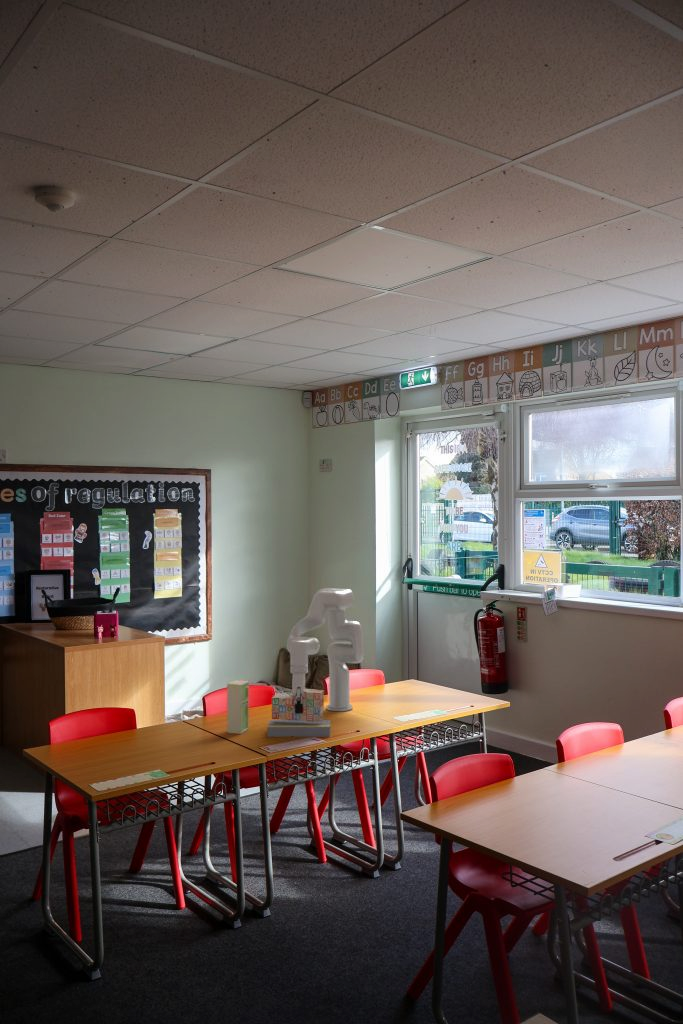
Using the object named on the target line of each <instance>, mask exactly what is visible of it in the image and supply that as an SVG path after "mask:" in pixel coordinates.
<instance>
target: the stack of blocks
mask: <svg viewBox="0 0 683 1024" xmlns="http://www.w3.org/2000/svg"><path fill="white" fill-rule="evenodd" d="M324 693H325V691H324V689H316V688H315V689H313V688H305V691H304V696H303V697H302V704H303V713H295V704H296V695H295V696H294V697H292V695H287V694H275V695H273V696H272V697H271V720H298V721H314V722H321V721H322V720H324V708H325V707H324V704H325V703H324V702H325V698H324V696H325V695H324ZM300 696H301V695H300Z"/></svg>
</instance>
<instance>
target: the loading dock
mask: <svg viewBox="0 0 683 1024" xmlns="http://www.w3.org/2000/svg"><path fill="white" fill-rule="evenodd" d="M266 728H267V729H266V730H267V737H268V738H269V737H272V738H273V737H275V738H276V737H277V738H279V737H280V738H282V737H284V738H285V737H286V738H287V737H288V738H290V737H291V736H293V738H294V737H295V738H297V737H301V738H303V737H306V738H307V737H308V738H310V737H311V738H312V737H315V738H317V737H318V738H319V737H325V738H326V737H327V738H329V737H331V720H330V719H322V721H321V722H314V721H298V720H280V719H271V720H269V721H268V725H267V727H266ZM291 738H292V737H291Z"/></svg>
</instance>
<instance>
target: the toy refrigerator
mask: <svg viewBox="0 0 683 1024" xmlns="http://www.w3.org/2000/svg"><path fill="white" fill-rule="evenodd" d="M226 689H227V690H226V691H227V693H226V696H227V697H226V698H227V699H226V701H227V703H226V705H227V707H226V708H227V711H226V713H227V715H226V720H227V723H226V724H227V725H226V730H227V731H226V732H227V733H228V734H237V735H238V734H239V735H241V734H243V733H246V732H247V731H249V726H250V722H249V721H250V719H249V717H250V716H249V715H250V710H249V709H250V702H249V701H250V699H249V698H250V697H249V696H250V694H249V693H250V690H249V689H250V681H249V680H237V679H236V680H233V681H230V682H228V683H227V684H226Z"/></svg>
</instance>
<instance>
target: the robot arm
mask: <svg viewBox="0 0 683 1024" xmlns="http://www.w3.org/2000/svg"><path fill="white" fill-rule="evenodd" d="M354 601H355V595H354V592H353V591H352V590H351V589H350V588H334V587H333V588H332V587H325V588H320V589H318V591H316V593H315V594H314V595H313V598H312V601H311V603H310V606H309V608H308V611H307V614H306V616H305V617H304V618H301V619H300V620H299V621H298V622H297V623H296V624H294V625H293V627H292V628H291V630H290V633H289V635H288V637H287V641H286V650H287V652H289V654H290V659H289V660H290V667H289V669H290V671H289V673H290V674H292V678H291V679H292V681H291V682H292V684H291V685H292V693H291V696H292V697H294V696H295V695H296V704H295V713H303V704H302V697H303V696H304V691H305V689H306V674H308V673H309V656H313V655H316V654H317V653H318V652H319V650H320V648H321V642H320V640H319V639H318V638H316V637H313V636H311V637H310V636H302V635H304V634H305V633H307V632H310V631H312V630H315V629H318V628H321V627H322V626H324V625H325V621H326V619H327V622H328V623H327V625H328V634H329V637H330V639H331V640H334V641H335V642H332V643H330V644H329V645H328V646H327V651H326V654H327V659H328V668H329V673H328V675H329V677H328V678H329V680H328V681H329V689H328V691H329V693H328V694H329V699H328V700H329V704H327V705H326V706H325V709H326V710H328V711H330V712H331V711H332V712H348V711H351V710H353V706H354V705H352V704H350V670H349V667H348V666H347V664H360V663H362V662H363V660H364V658H365V657H364V656H365V649H364V633H363V627H362V624H361V623H360V622H359V621H356V620H347V616H346V609H348V608H350V607H351V606H352V605H353V604H354ZM300 695H301V696H300Z"/></svg>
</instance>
